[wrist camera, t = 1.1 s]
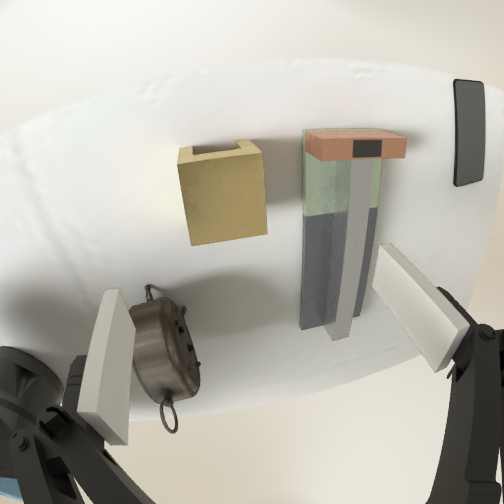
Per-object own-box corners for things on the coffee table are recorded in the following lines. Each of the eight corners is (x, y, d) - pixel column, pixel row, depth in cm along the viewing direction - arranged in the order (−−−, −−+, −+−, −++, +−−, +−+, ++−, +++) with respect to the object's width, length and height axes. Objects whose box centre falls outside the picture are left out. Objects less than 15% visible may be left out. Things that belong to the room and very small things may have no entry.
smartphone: (484, 81, 26) (483, 180, 34) (479, 81, 27) (479, 178, 35) (454, 79, 26) (455, 188, 34) (449, 78, 27) (451, 185, 35)
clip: (253, 206, 31) (267, 234, 26) (190, 216, 30) (191, 246, 25) (248, 139, 27) (262, 152, 22) (179, 148, 26) (177, 164, 21)
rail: (357, 312, 42) (372, 335, 38) (299, 326, 41) (311, 352, 37) (379, 128, 29) (407, 138, 24) (302, 129, 27) (322, 139, 23)
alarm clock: (130, 280, 32) (111, 406, 19) (174, 268, 33) (177, 397, 19) (163, 343, 38) (167, 455, 24) (202, 335, 38) (217, 448, 25)
